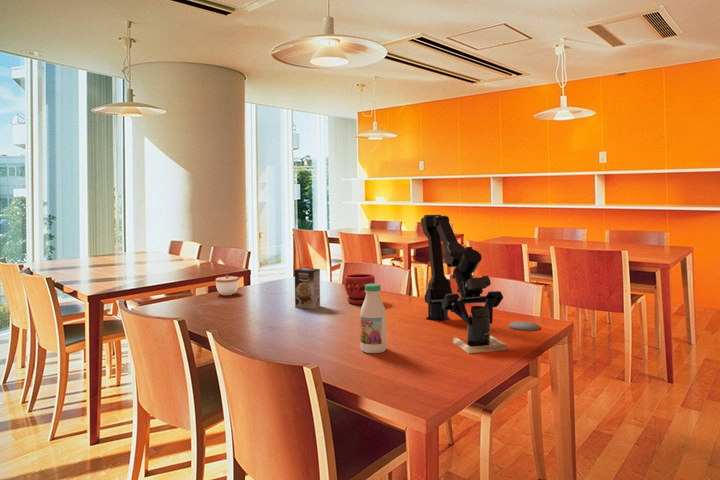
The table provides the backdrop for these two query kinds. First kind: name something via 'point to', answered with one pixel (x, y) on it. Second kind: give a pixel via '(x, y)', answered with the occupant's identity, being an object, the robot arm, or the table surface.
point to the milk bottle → (373, 321)
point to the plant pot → (357, 287)
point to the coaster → (524, 326)
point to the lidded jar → (227, 285)
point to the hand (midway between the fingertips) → (480, 324)
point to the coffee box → (307, 288)
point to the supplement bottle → (478, 327)
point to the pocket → (496, 347)
